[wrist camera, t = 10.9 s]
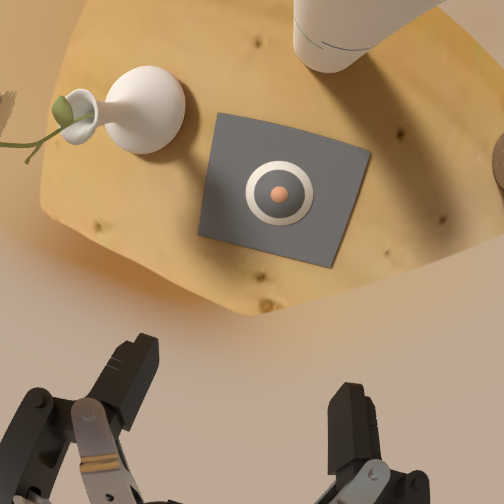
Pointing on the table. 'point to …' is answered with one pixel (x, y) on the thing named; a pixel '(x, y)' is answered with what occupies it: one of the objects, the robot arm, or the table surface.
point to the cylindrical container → (348, 28)
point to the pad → (279, 189)
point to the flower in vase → (117, 112)
